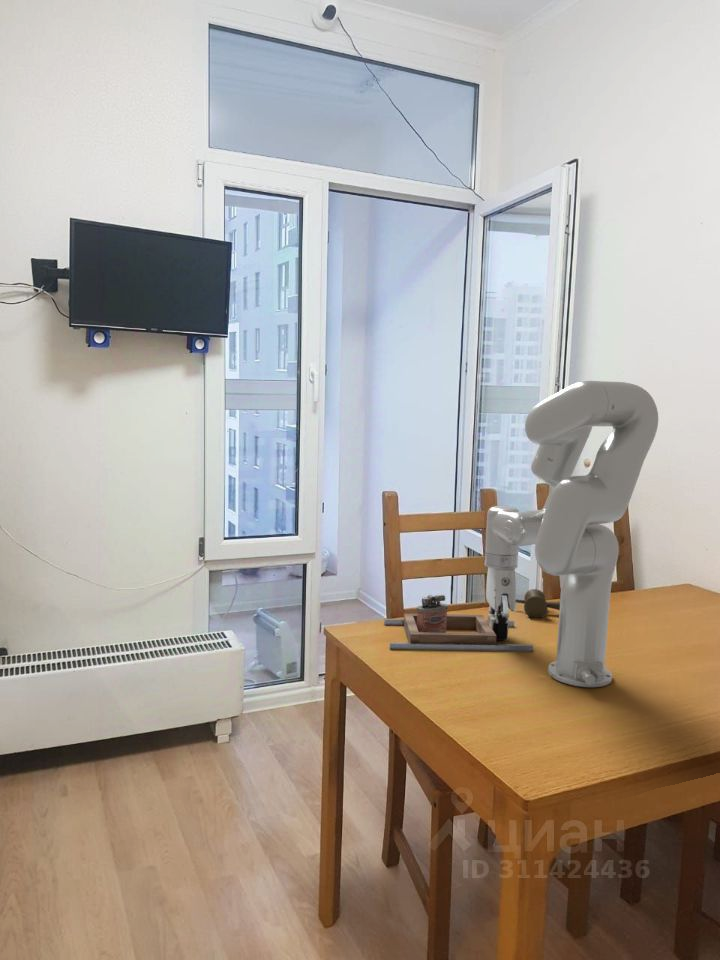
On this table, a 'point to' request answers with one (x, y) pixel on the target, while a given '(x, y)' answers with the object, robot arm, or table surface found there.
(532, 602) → the kendama
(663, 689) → the table surface
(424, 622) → the lighter
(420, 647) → the guide rails
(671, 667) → the table surface
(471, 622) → the sliding frame
